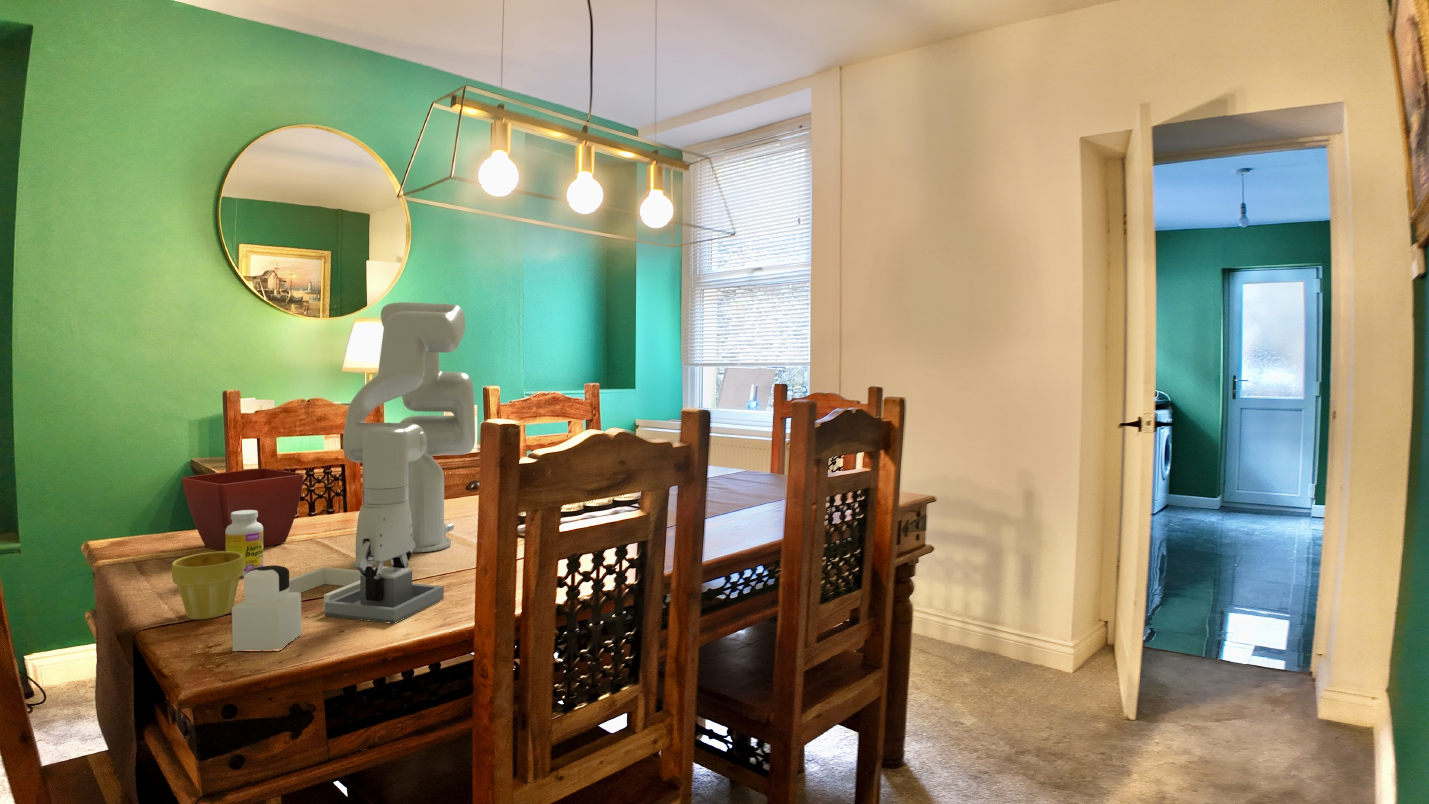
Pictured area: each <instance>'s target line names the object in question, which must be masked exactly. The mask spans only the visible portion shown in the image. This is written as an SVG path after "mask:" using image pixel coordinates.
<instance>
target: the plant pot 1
mask: <svg viewBox="0 0 1429 804" xmlns="http://www.w3.org/2000/svg"><path fill="white" fill-rule="evenodd" d="M304 477H305V474H304V473H300V472H293V471H286V470H281V469H279V470H278V469H274V468H267V467H266V468H263V467H261V468H254V469H243V470H241V469H240V470H234V471H233V470H232V471H225V472H218V473H217V472H214V473H207V474H206V473H205V474H200V475H199V474H198V475H190V476H183V477H181V483H182V487H183V491H184V495H185V499H186V503H187V506H188V509H189V512H190V516H191V518H192V520H193V523H194V525H195V527H196V530H197V532H198V535H199V536H200V538H201V541H202V543H203V546H204V547H206V548H209V549H210V548H211V549H214V550H218V551H226V536H225V531H226V528H227V527H228V526H229V525H231V524H232V519H231V513H232V512H235V511H241V510H256V511H258V517H257V519H256V520H257V522H258V523H260V524H262V526H263V548H264V547H269V546H274V545H280V544H283V543H286V542H287V539H288V537H289V535H290V532H291V529H292V526H293V525H294V524H293V523H294V521H295V518H296V516H297V512H298V507H299V504H300V500H301V495H302V490H303V484H304Z"/></svg>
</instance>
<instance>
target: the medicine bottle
mask: <svg viewBox="0 0 1429 804" xmlns="http://www.w3.org/2000/svg"><path fill="white" fill-rule="evenodd" d="M289 579H290V570H289V568H287V567H285V566H283V565H278V564H277V565H275V564H274V565H263V566H262V567H257V568H254V569H252V570H250V571H248V572H246V574H245V575H244V576H243V592H244V594H243V597H244V598H245V599H243V600H241V601H240V602H238V603H237V604H235V605H233V607H232V609H231V612H230V613H231V650H232V652H233V651H241V650H273V649H281V648H283V647H284V646H285V645H287V644H288V643H289V642H291V641H293V640H294V639H295V638H296V639H297V637H298V636H299V637H300V636H301V635H302V592H301V593H299V592H295V593H288V592H289ZM299 637H298V638H299ZM296 639H295V640H296ZM295 640H294V641H295ZM294 641H293V642H294ZM291 643H292V642H291ZM287 646H288V645H287Z"/></svg>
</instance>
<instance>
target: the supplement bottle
mask: <svg viewBox="0 0 1429 804" xmlns="http://www.w3.org/2000/svg"><path fill="white" fill-rule="evenodd" d="M257 517H258V511H256V510H241V511H235V512H232V513H231V519H232V524H231V525H229V526H228V527H227V528H226V531H225V536H226V551H231V552H239V553H241V554H243V556H244V573H243V574H242V575H241V576H240V577H239V578H241V577H242V578H244V575H245V574H246V572H248V571H250V570H252V569H254V568H257V567H262V566H264V547H263V526H262V524H260V523H258V522H257V520H256V519H257Z"/></svg>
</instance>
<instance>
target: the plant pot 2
mask: <svg viewBox="0 0 1429 804" xmlns="http://www.w3.org/2000/svg"><path fill="white" fill-rule="evenodd" d="M243 573H244V556H243V554H241V553H239V552H231V551H221V550H219V551H209V552H201V553H196V554H192V555H191V554H190V555H186V556H183V557H181V558H177V559H176V560H174V561H173V562H172V563H171V577H172V583H174V584H175V585H177V588H178V591H179V593H180V598H181V601H182V604H183V608H184V611H185V615H186V617H187V618H188V619H190V620H208V619H214V618H219V617H222V616H226V615H228V614H229V613H232V612H231V609H232V607H233V606H235V605H234V604H235V599H236V595H237V590H238V586H239V585H238V584H239V581H240V578H241V577H240V576H241V575H242V574H243Z"/></svg>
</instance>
